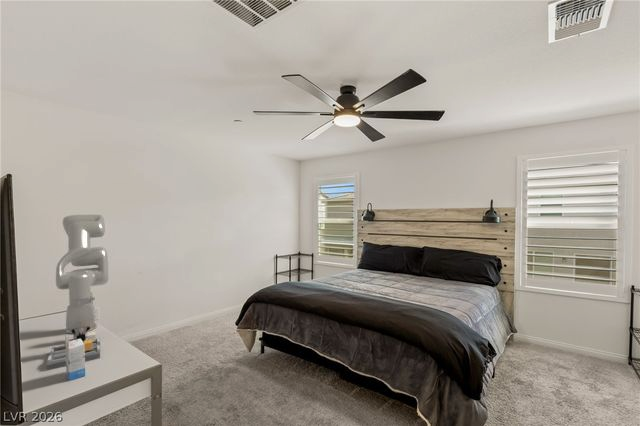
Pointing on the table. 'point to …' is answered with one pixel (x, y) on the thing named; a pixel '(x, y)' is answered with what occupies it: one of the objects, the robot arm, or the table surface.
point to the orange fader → (88, 345)
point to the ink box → (75, 358)
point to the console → (59, 355)
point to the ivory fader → (91, 336)
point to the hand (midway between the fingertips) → (81, 343)
